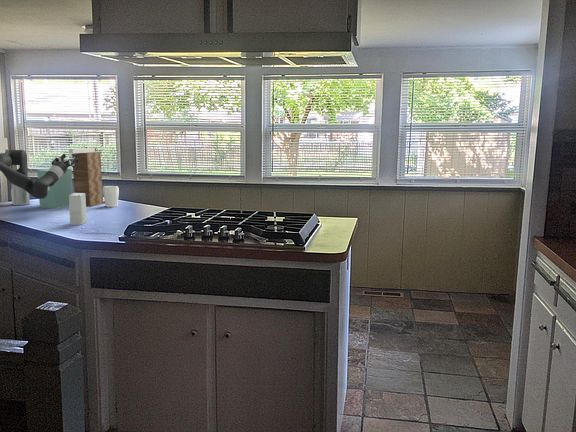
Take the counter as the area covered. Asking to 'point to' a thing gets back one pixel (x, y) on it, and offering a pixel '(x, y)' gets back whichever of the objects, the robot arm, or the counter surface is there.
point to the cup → (111, 195)
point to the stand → (89, 177)
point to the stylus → (81, 150)
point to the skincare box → (77, 208)
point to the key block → (57, 191)
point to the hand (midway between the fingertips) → (71, 155)
